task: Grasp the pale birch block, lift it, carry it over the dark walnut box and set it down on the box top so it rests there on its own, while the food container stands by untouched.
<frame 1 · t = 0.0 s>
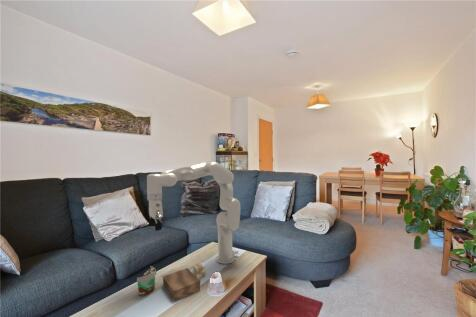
hand: (155, 227, 124), 31 cm above the table, fingers open, 9 cm apart
food container: (149, 291, 119), on the table
walnut box: (181, 288, 120), on the table
birch block: (199, 275, 132), on the table
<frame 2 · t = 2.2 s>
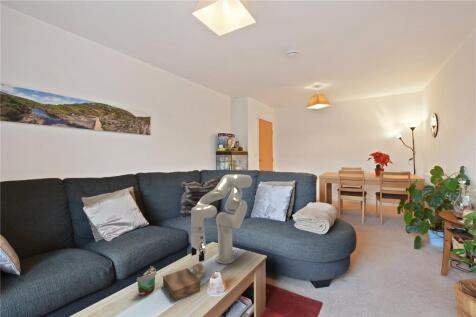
hand: (197, 258, 131), 11 cm above the table, fingers open, 9 cm apart
nothing on the table moved.
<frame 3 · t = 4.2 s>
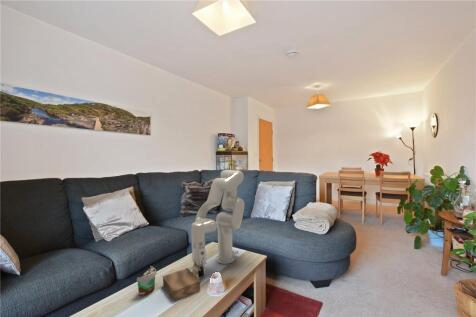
hand: (199, 274, 132), 1 cm above the table, fingers closed on birch block, 5 cm apart
birch block: (199, 275, 132), on the table, touching gripper
everything else where it was.
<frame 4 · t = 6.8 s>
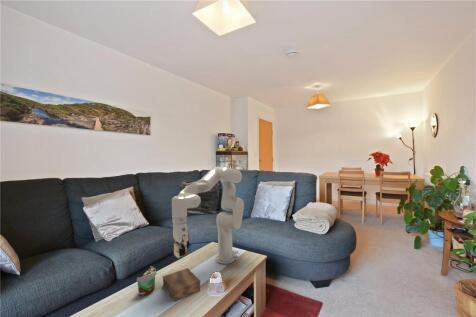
hand: (180, 253, 120), 19 cm above the table, fingers closed on birch block, 5 cm apart
birch block: (180, 255, 120), point 18 cm above the table, touching gripper
everything else where it was.
when the fingers open (7 cm above the table, at t = 9.5 s): birch block drops 1 cm, resting on walnut box.
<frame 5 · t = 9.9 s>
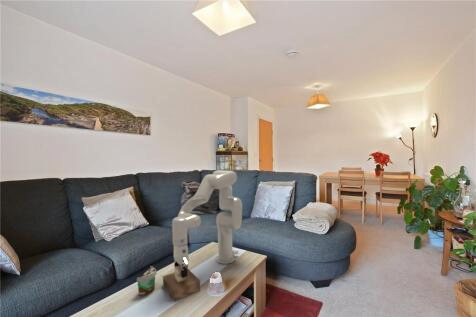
hand: (180, 272, 120), 8 cm above the table, fingers open, 8 cm apart
birch block: (181, 278, 120), point 5 cm above the table, touching walnut box
everything else where it was.
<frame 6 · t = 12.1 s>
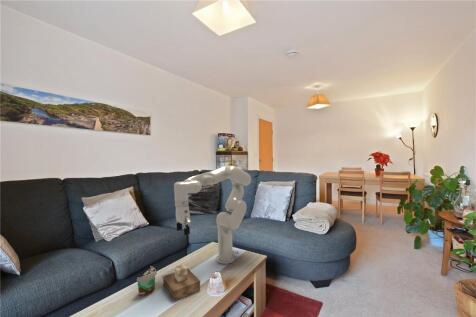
hand: (183, 232, 132), 26 cm above the table, fingers open, 9 cm apart
nothing on the table moved.
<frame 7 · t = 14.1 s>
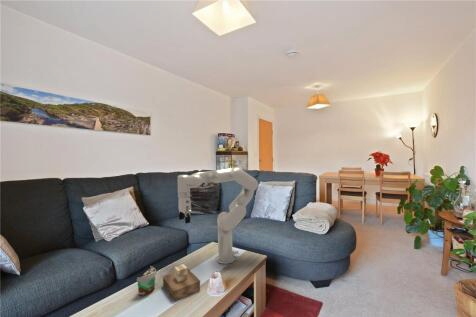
hand: (184, 221, 144), 28 cm above the table, fingers open, 9 cm apart
nothing on the table moved.
at the end: birch block touching walnut box; birch block inside the target area on the walnut box (0.1 cm from its centre), point 5.1 cm above the walnut box's base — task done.
